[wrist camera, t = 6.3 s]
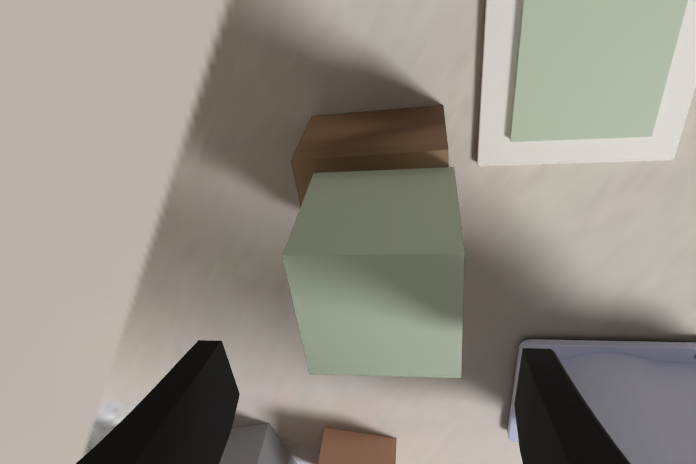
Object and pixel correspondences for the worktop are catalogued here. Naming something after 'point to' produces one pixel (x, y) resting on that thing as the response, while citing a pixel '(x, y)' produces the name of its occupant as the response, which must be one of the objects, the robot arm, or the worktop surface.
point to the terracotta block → (356, 448)
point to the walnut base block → (371, 143)
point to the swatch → (585, 80)
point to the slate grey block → (255, 446)
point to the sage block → (379, 273)
